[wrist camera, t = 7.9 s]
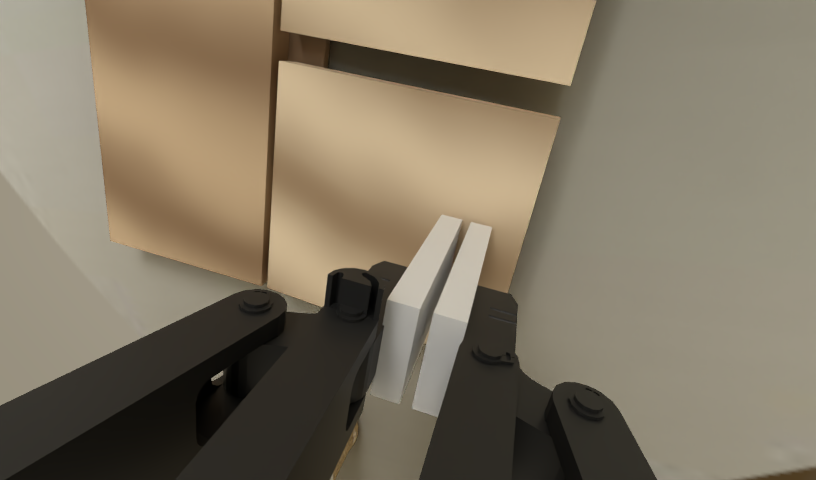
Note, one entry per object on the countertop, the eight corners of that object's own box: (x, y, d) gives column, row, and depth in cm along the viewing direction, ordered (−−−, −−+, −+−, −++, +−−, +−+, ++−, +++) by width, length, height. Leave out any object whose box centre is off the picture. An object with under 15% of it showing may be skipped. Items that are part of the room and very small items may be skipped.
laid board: (94, -323, 14) (46, -366, 13) (363, -311, 13) (342, -359, 11) (137, 229, 22) (110, 240, 21) (308, 279, 21) (291, 295, 19)
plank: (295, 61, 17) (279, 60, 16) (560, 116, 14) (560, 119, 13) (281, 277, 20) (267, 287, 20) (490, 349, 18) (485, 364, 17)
